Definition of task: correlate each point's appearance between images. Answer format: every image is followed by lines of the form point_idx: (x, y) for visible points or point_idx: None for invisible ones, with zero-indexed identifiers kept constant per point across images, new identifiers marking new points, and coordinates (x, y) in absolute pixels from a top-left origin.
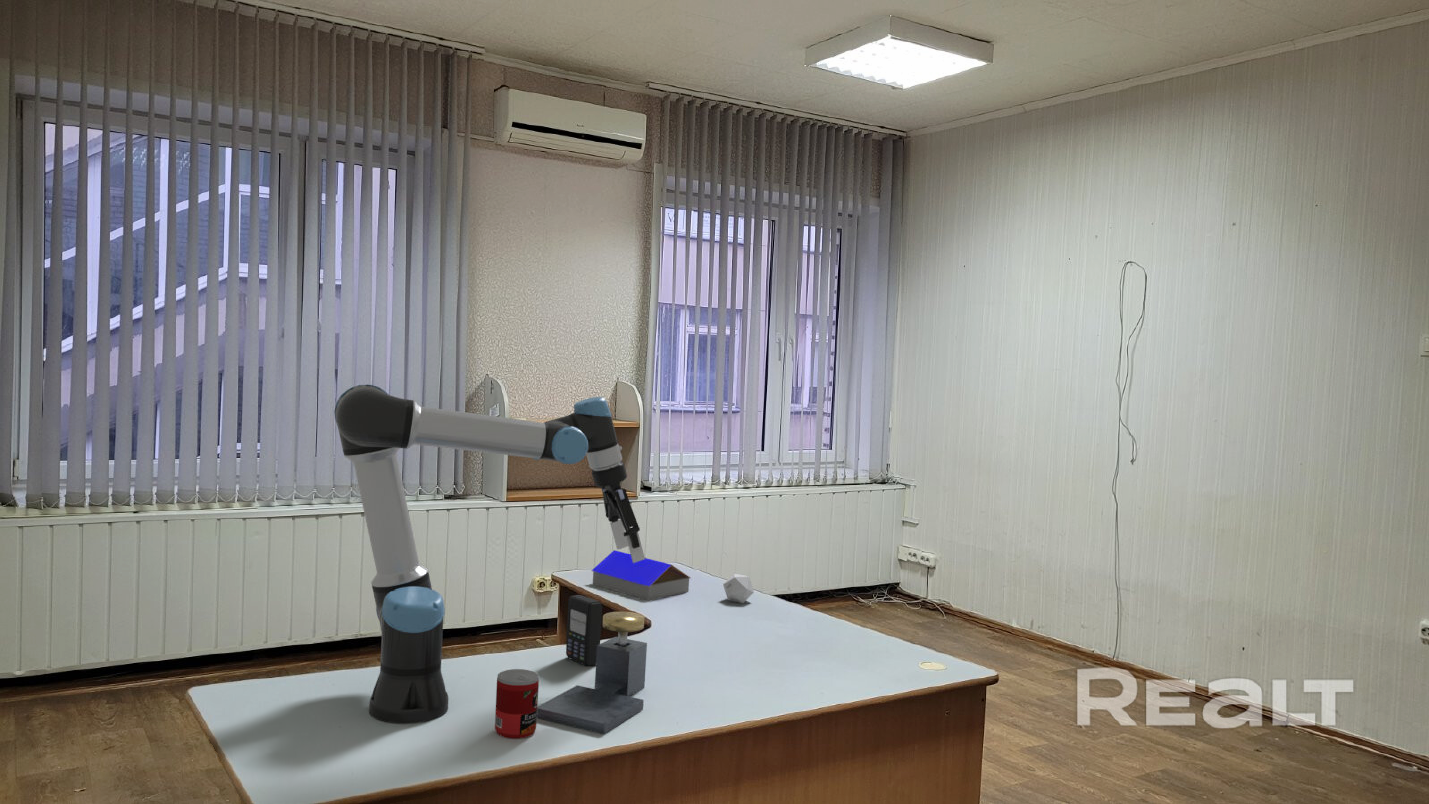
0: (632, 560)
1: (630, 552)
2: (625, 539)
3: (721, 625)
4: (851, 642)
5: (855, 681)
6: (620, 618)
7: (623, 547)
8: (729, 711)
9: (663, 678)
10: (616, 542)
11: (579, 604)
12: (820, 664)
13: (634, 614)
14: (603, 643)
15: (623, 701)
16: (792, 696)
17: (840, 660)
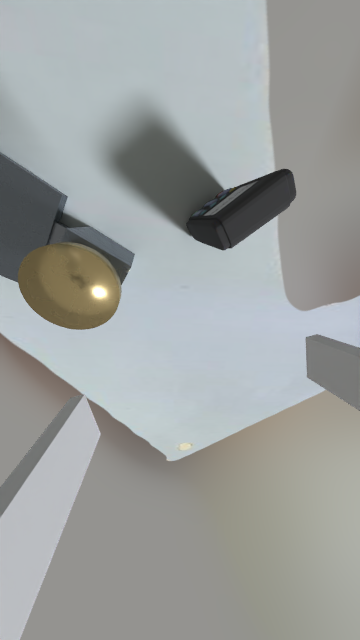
0: (77, 401)
1: (48, 436)
2: (336, 390)
3: (289, 357)
4: (231, 420)
5: (154, 422)
6: (56, 285)
7: (307, 359)
8: (64, 358)
9: (149, 309)
10: (337, 351)
11: (242, 196)
12: (188, 407)
13: (101, 313)
14: (83, 242)
15: (13, 263)
16: (116, 395)
17: (196, 416)
